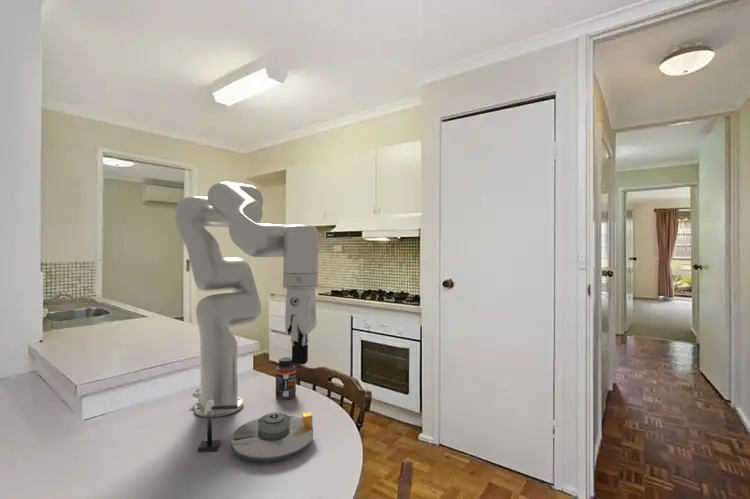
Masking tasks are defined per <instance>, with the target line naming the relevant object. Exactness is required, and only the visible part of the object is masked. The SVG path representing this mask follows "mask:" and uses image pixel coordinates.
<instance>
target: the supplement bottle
mask: <svg viewBox="0 0 750 499" xmlns="http://www.w3.org/2000/svg"><path fill="white" fill-rule="evenodd" d="M296 386H297V368H296V365H295V364H293V363H292V357H288V356H287V357H286V356H285V357H281V358H279V359H278V366H276V368H275V398H276V399H278V400H281V401H282V400H284V401H289V400H291V399H293V398H295V397H296V395H297V394H296V392H297V387H296Z"/></svg>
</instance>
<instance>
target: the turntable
mask: <svg viewBox="0 0 750 499" xmlns="http://www.w3.org/2000/svg"><path fill="white" fill-rule="evenodd" d="M288 416H289V417H290V433H289V434H288V435H287V436H286V437H284V438H282V439H279V440H273V441H268V440H263V439H260V438H259V437H258V420H259V419H260V418H261V417H259V418H256V419H253V420H250V421H248V422H246V423H244V424H242V425H241V426H239V427H238V428H237V429H235V430H234V432H233V433H232V435H231V438H230V448H231V451H232V453H233V454H234V455H236V456H237V457H239V458H241V459H244V460H247V461H253V462H273V461H278V460H283V459H287V458H291V457H293V456H295V455H297V454H299V453H301V452H303V451H304V450H306V449H307V448H308V447H310V445H311V443H312V442H313V440H314V427H313V414H312V412H311V411H308V412H302V413H301V417H299V416H295V415H288Z"/></svg>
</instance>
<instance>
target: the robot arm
mask: <svg viewBox="0 0 750 499" xmlns="http://www.w3.org/2000/svg"><path fill="white" fill-rule="evenodd" d="M263 197H264V196H263V194H262V192H261V191H260V190H259V188H258V187H256V186H254V185H252V184H251V185H250V184H245V183H237V182H230V181H220V182H216V183H214V184H213V185H212V186H211V187H210V188H209V189H208V191H207V196H201V195H199V196H198V195H193V196H187V197H184V198H182V199H180V200H179V201H178V203H177V205H176V207H175V215H174V216H175V223H176V224H175V225H176V228H177V231H178V233H179V235H180V238H181V239H182V241H183V243H184V245H185V247H186V248H185V249H186V250H187V254H188V258H189V263H190V266H191V272H192V275H193V280H194V282H195V285H196V287H197V289H198V290H200V291H201V292H206V293H207V292H210V293H211V292H223V291H232V292H225V293H224V292H223V293H216V294H210V295H207V296H204V297H202V298H201V299H200V300H199V301H198V303H197V305H196V309H195V314H196V315H195V316H196V320H197V326H198V330H199V342H200V343H199V344H200V348H199V350H200V351H199V352H200V353H199V354H200V387H197V388H196V390H195V392H193V393H192V396H191V397H192V398H195V399H197V403H196V404H195V405H194V413H195V414H196V415H197V416H199V417H203V418H206V417H205V416H204V406H205V402H206V400H208V399H213V400H214V404H215V406H224V405H238V408H237V409H219V410H214V413H213V415H212V418H217V417H218V418H221V417H225V416H228V415H231V414H234V413H236V412H238V411H240V410H241V409H242V408H243V406H244V399H243V397H240V396H238V395H239V394H238V391H239V390H238V388H239V387H238V381H239V380H238V379H239V378H238V341H237V339H236V337H235V336H234V334H233V333H232V332H231V331H230V328H234V327H237V326H242V325H243V326H244V325H247V324H252V323H255V322H256V321H257V320H258V319H259V318H260V316H261V311H262V306H261V301H260V296H259V292H258V289H257V284H256V281H255V278H254V274H253V272H252V268H251V266H250V264H249V263H248V262H247V261H246V260H245V259H244V258H240V257H224V256H223V255H222V251H221V248H220V244H219V242H218V240H217V239H216V238H215V236H214V235H213V234H212V232H210V231H208V230H207V229H206V228H205V227H213V228H214V227H216V228H219V227H220V228H228V234H229V236H230V239H231V241H232V243H234V244H235V246H236V247H238V248H239V249H240V250H241V251H243V252H244V253H245V254H246V255H248V256H250V257H253V258H273V257H276V258H279V257H281V258H282V259H283V270H282V271H283V272H282V275H283V276H282V280H283V281H282V282H283V283H282V287H283V288H284V289H286V296H285V312H284V313H285V318H284V321H285V322H284V324H285V325H284V327H285V328H284V329H285V333H286V334H287V335H290V342H291V358H292V363H293V365H306V364H307V363H308V362H309V360H308V359H309V343H308V342H309V334H310V333H311V332H313V330H314V329H315V328H316V327H317V304H316V302H317V299H316V289H318V287H319V286H318V284H319V283H318V282H319V281H318V280H319V279H318V278H319V275H318V273H319V268H318V267H319V231H318V228H317V227H316V226H314V225H308V224H277V223H276V224H275V223H274V224H272V223H260V222H261V220H262V217H263V215H264V214H263V205H264V198H263Z"/></svg>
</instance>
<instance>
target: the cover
mask: <svg viewBox="0 0 750 499" xmlns="http://www.w3.org/2000/svg"><path fill="white" fill-rule="evenodd" d="M289 416H290V415H289V414H285V413H283V412H280V411H279V412H278V411H274V412H273V411H272V412H269V413H266V414H265V415H263V416H261V417H259V418H260V419H259V418H258V419H259V420H258V437H259V438H260V439H263V440H268V441H273V440H279V439H282V438H284V437H286V436H287V435H288V434H289V433H290V417H289Z"/></svg>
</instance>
